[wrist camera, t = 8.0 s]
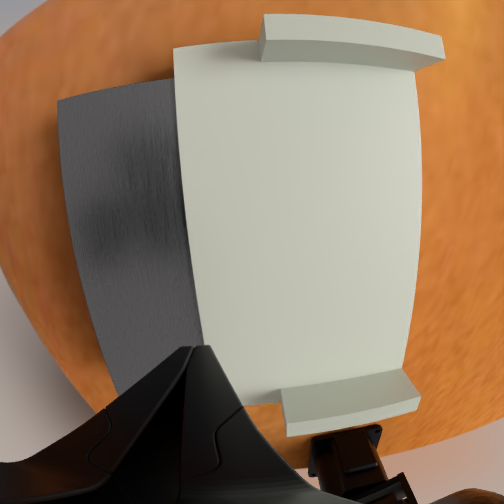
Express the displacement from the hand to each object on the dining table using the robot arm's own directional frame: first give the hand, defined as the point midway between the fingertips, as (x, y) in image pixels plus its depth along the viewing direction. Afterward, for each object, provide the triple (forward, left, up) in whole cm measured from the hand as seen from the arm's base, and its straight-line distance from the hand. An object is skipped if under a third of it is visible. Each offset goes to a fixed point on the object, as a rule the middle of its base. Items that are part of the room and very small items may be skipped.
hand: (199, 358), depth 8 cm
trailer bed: (+1, -5, -10) cm, 11 cm away
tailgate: (+1, +1, -7) cm, 7 cm away
